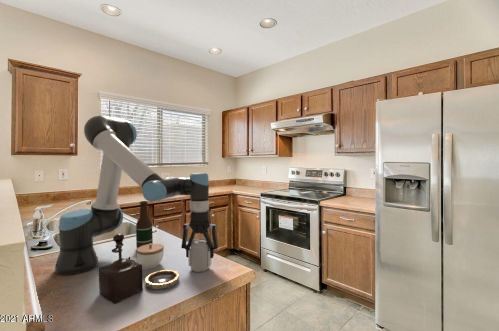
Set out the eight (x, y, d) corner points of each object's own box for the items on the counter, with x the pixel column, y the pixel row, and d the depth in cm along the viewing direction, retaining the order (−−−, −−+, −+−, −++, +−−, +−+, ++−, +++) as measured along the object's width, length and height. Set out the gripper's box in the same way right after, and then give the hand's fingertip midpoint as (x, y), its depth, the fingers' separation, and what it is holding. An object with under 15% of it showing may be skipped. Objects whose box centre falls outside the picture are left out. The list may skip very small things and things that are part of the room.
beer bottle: (147, 245, 137) (146, 199, 136) (156, 248, 133) (155, 201, 132) (133, 249, 131) (132, 201, 130) (141, 252, 126) (141, 203, 125)
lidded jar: (168, 265, 112) (168, 243, 112) (144, 273, 104) (143, 250, 104) (156, 258, 119) (156, 238, 119) (132, 265, 112) (132, 244, 111)
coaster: (139, 289, 92) (139, 284, 92) (154, 274, 103) (154, 269, 103) (172, 290, 91) (171, 285, 91) (182, 275, 103) (182, 270, 102)
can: (199, 274, 103) (199, 244, 103) (187, 269, 108) (186, 241, 107) (213, 268, 109) (212, 239, 109) (200, 263, 114) (200, 236, 113)
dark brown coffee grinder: (145, 290, 92) (144, 239, 91) (113, 304, 83) (112, 248, 82) (122, 277, 101) (121, 231, 100) (91, 289, 92) (90, 239, 91)
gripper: (172, 212, 104) (172, 268, 105) (222, 212, 103) (222, 269, 104) (178, 208, 112) (179, 260, 113) (225, 208, 110) (225, 262, 111)
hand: (200, 265), depth 108 cm, fingers closed on can, 7 cm apart
